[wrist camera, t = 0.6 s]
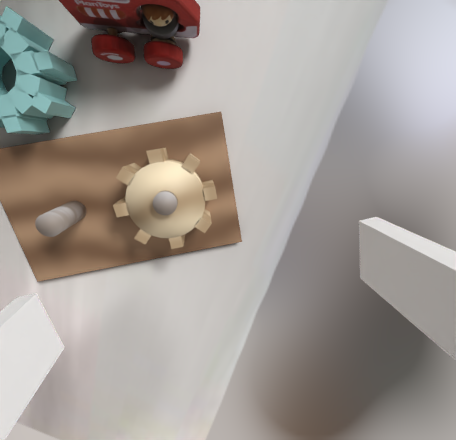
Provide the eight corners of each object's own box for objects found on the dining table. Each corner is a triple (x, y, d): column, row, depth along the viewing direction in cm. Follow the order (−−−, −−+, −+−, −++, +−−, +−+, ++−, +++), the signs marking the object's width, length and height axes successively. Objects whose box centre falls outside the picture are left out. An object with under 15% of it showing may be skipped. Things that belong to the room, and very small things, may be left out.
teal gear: (-53, 30, 26) (-109, 5, 21) (57, 14, 26) (25, -14, 22) (-5, 141, 29) (-44, 141, 25) (91, 125, 30) (71, 122, 25)
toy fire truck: (199, 72, 30) (198, 37, 20) (87, 61, 28) (27, 17, 18) (200, 1, 28) (201, -78, 18) (80, -15, 26) (8, -111, 16)
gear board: (-14, 151, 30) (-78, 154, 23) (220, 112, 31) (226, 104, 24) (42, 277, 35) (4, 310, 28) (240, 238, 36) (249, 260, 29)
